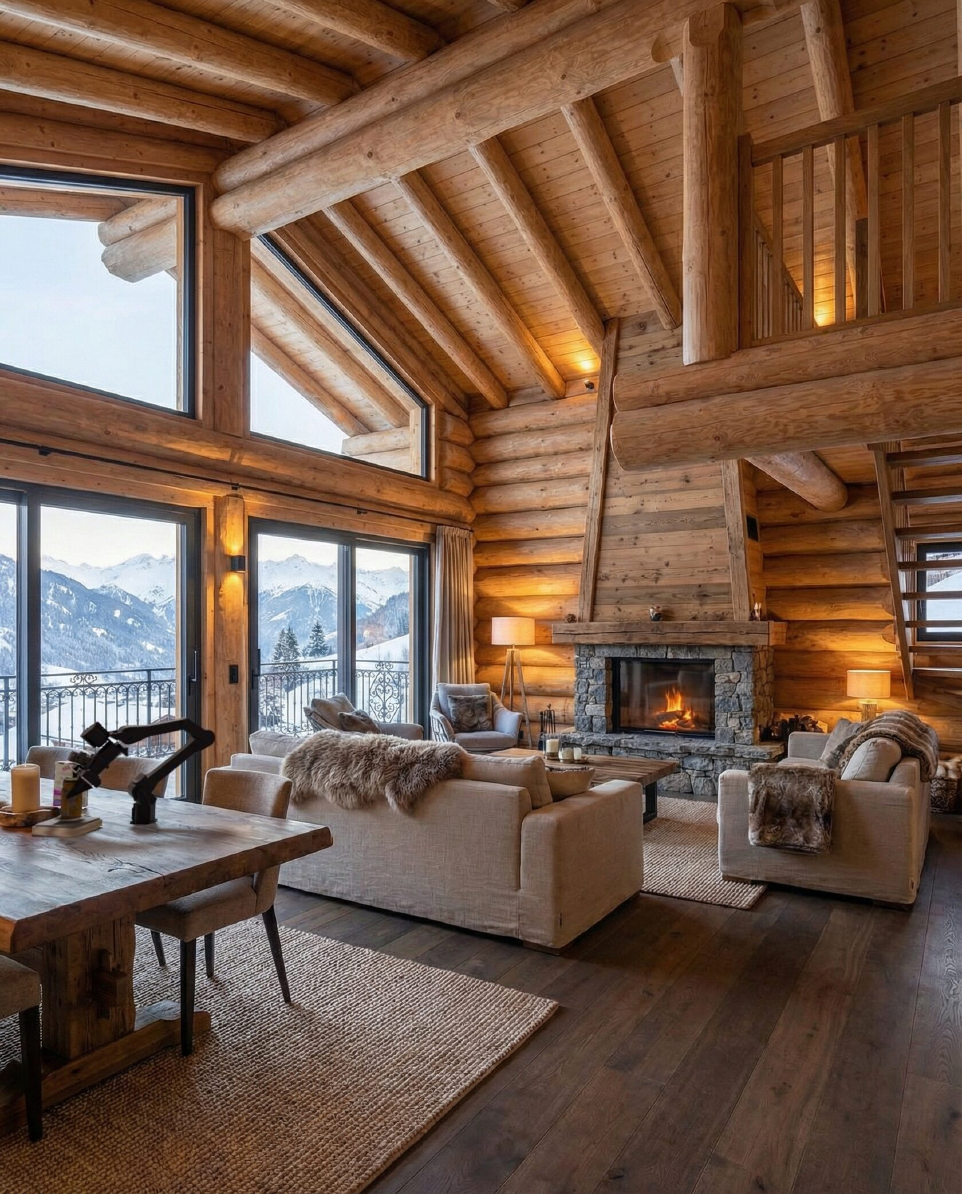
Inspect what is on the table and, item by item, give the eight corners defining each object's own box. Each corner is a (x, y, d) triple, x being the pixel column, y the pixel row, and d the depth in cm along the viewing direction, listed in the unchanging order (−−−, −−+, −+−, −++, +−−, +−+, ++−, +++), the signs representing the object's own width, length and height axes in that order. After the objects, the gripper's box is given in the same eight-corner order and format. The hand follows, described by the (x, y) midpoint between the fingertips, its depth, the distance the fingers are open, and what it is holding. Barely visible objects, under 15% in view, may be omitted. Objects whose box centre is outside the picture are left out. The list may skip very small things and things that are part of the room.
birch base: (102, 826, 261) (102, 817, 261) (73, 837, 247) (74, 827, 247) (62, 824, 263) (62, 814, 263) (32, 834, 249) (32, 824, 249)
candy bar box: (88, 808, 287) (90, 761, 288) (77, 811, 283) (79, 763, 283) (63, 805, 291) (64, 759, 291) (51, 808, 286) (53, 761, 287)
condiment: (86, 814, 259) (87, 776, 260) (76, 820, 251) (78, 781, 251) (62, 814, 258) (63, 776, 259) (51, 821, 250) (53, 781, 250)
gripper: (79, 738, 266) (40, 775, 259) (91, 744, 251) (49, 784, 244) (104, 760, 270) (67, 797, 263) (117, 768, 255) (78, 807, 248)
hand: (64, 796), depth 255 cm, fingers closed on condiment, 6 cm apart
